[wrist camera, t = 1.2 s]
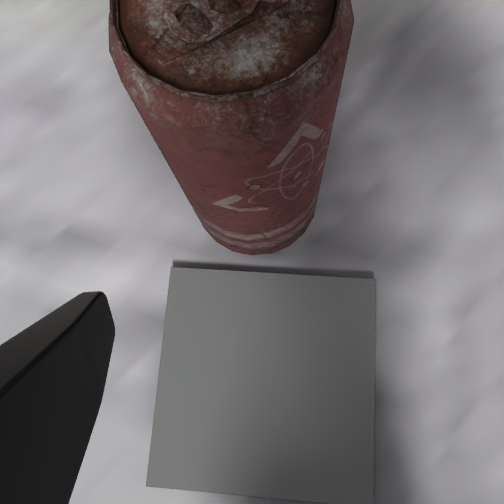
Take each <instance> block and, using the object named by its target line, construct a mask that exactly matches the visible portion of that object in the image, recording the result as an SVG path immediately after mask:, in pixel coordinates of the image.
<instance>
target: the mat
mask: <svg viewBox="0 0 504 504" xmlns="http://www.w3.org/2000/svg"><path fill="white" fill-rule="evenodd" d="M375 321H376V279H367V278H349V277H332V276H315V275H298V274H281V273H263V272H246V271H229V270H212V269H194V268H177V267H171V271H170V280H169V289H168V297H167V306H166V315H165V324H164V332H163V341H162V350H161V359H160V368H159V376H158V385H157V394H156V403H155V411H154V420H153V429H152V438H151V446H150V455H149V464H148V473H147V481H146V486H148V487H159V488H169V489H180V490H190V491H200V492H211V493H221V494H232V495H242V496H253V497H263V498H274V499H284V500H295V501H305V502H316V503H326V504H374V423H375Z"/></svg>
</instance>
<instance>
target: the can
mask: <svg viewBox="0 0 504 504" xmlns="http://www.w3.org/2000/svg"><path fill="white" fill-rule="evenodd" d="M353 25H354V17H353V11H352V5H351V0H110V13H109V52H110V54H111V57H112V59H113V62H114V64H115V66H116V69H117V71H118V74H119V76H120V79H121V81H122V83H123V85H124V87H125V88H126V90H127V92H128V94H129V96H130V97H131V99H132V101H133V103H134V104H135V106H136V108H137V110H138V112H139V113H140V115H141V117H142V119H143V120H144V122H145V124H146V126H147V127H148V129H149V131H150V133H151V135H152V136H153V138H154V140H155V142H156V143H157V145H158V147H159V149H160V151H161V152H162V154H163V156H164V158H165V159H166V161H167V163H168V165H169V166H170V168H171V170H172V172H173V174H174V175H175V177H176V179H177V181H178V182H179V184H180V186H181V188H182V190H183V191H184V193H185V195H186V197H187V198H188V200H189V202H190V204H191V205H192V207H193V209H194V211H195V213H196V214H197V216H198V218H199V220H200V221H201V223H202V225H203V227H204V228H205V230H206V231H207V232H208V233H209V234H210V235H211V236H212V237H213V238H214V240H215V241H216V242H218V243H219V244H221V245H223V246H225V247H226V248H228V249H230V250H232V251H234V252H239V253H244V254H248V255H259V254H269V253H273V252H276V251H278V250H280V249H282V248H285V247H287V246H289V245H291V244H292V243H293V242H294V241H295V240H296V239H297V238H299V237H300V236H301V235H302V234H303V233H304V232H305V230H306V228H307V227H308V225H309V223H310V222H311V220H312V218H313V217H314V212H315V207H316V202H317V197H318V193H319V188H320V183H321V178H322V173H323V169H324V164H325V159H326V154H327V150H328V145H329V140H330V135H331V130H332V126H333V121H334V116H335V111H336V106H337V102H338V97H339V92H340V87H341V83H342V78H343V73H344V68H345V63H346V59H347V54H348V49H349V44H350V39H351V34H352V30H353Z"/></svg>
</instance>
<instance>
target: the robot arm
mask: <svg viewBox="0 0 504 504" xmlns="http://www.w3.org/2000/svg"><path fill="white" fill-rule="evenodd" d="M114 337H115V326H114V322H113V318H112V315H111V311H110V307H109V304H108V300H107V297H106V295H105V294H104V293H103V292H101V291H97V292H84V293H81V294H79V295H78V296H76V297H75V298H73V299H71V300H70V301H68V302H67V303H65V304H64V305H62V306H61V307H59V308H57V309H56V310H54V311H53V312H51V313H50V314H48V315H47V316H45V317H44V318H42V319H40V320H39V321H37V322H36V323H34V324H33V325H31V326H30V327H28V328H26V329H25V330H23V331H22V332H20V333H19V334H17V335H16V336H14V337H12V338H11V339H9V340H8V341H6V342H5V343H3V344H2V345H0V504H69V501H70V497H71V494H72V491H73V488H74V485H75V482H76V479H77V476H78V473H79V470H80V467H81V464H82V461H83V458H84V455H85V452H86V449H87V446H88V443H89V440H90V436H91V433H92V430H93V427H94V424H95V421H96V418H97V415H98V412H99V408H100V405H101V401H102V397H103V392H104V387H105V382H106V377H107V372H108V367H109V362H110V357H111V352H112V347H113V342H114Z"/></svg>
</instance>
